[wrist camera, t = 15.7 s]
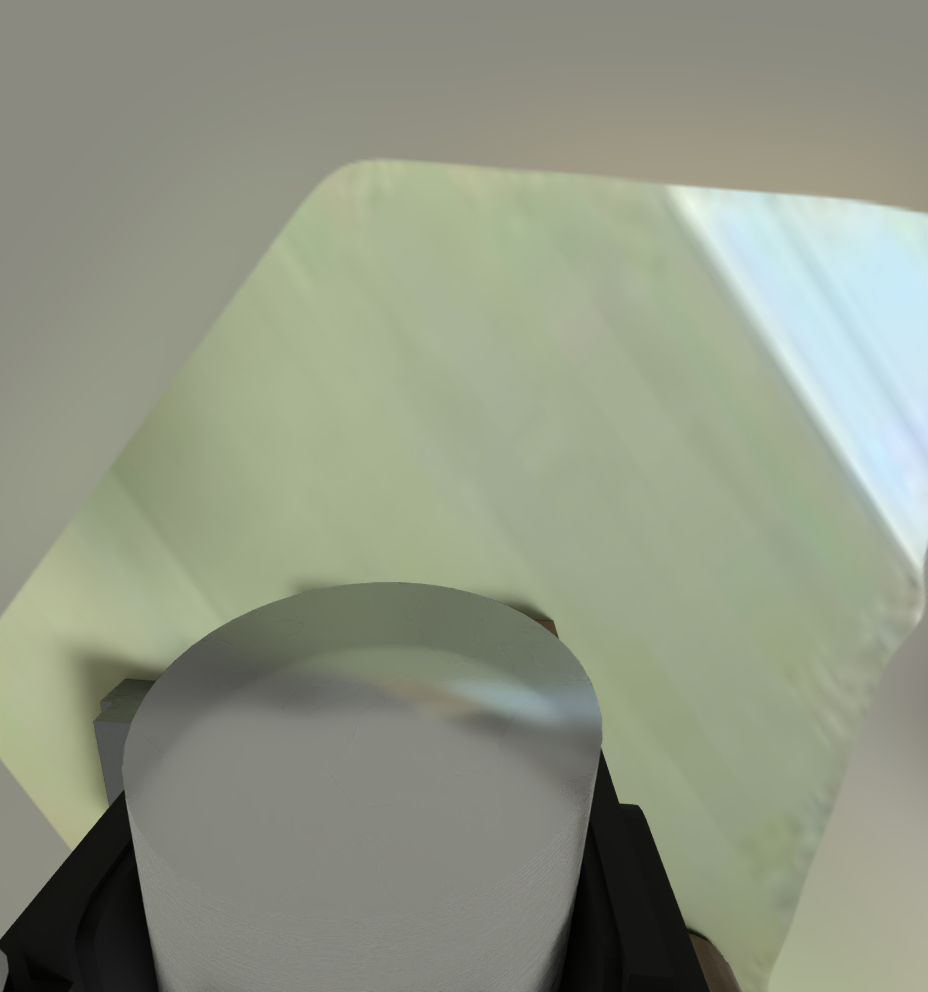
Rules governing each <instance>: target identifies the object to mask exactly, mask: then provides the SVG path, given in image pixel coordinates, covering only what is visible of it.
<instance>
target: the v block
mask: <svg viewBox="0 0 928 992" xmlns="http://www.w3.org/2000/svg"><path fill="white" fill-rule="evenodd" d="M155 682H156V681H144V680H129V679H125V680H123V681H122V682H121V683H120V684H119V685H118V686H117V687H116V688H115V689H114V690H112V691H111V692H110V693H109V694H108V695H107V696H106V697H105V698H104V699H103V700H101V701H100V702H101V708H102V713H101V714H100V715H99V716H98V717H97V718H96V719H95V720H94V721H93V723H94V728H95V734H96V739H97V744H98V749H99V755H100V760H101V765H102V770H103V776H104V781H105V786H106V791H107V797H108V802H109V807H110V806H111V804H112V803H113V802H114V801H115V800H116V798H117V797H118V796H119V795H120V794H121V792H122V791H123V790H124V782H123V774H122V766H123V756H124V746H125V742H126V739H127V736H128V732H129V729H130V726H131V723H132V720H133V718H134V716H135V714H136V712H137V710H138V708H139V707H140V705H141V703H142V701H143V699H144V697H145V696H146V695H147V693H148V692H149V690H150V689H151V688H152V686H153V685H154V683H155Z"/></svg>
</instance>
